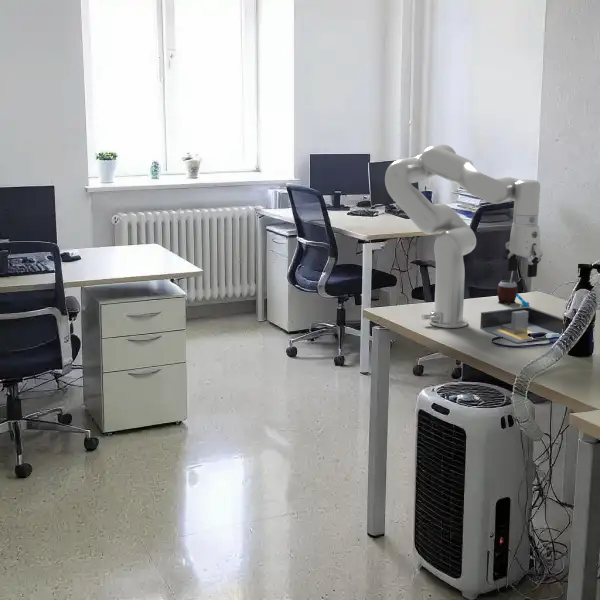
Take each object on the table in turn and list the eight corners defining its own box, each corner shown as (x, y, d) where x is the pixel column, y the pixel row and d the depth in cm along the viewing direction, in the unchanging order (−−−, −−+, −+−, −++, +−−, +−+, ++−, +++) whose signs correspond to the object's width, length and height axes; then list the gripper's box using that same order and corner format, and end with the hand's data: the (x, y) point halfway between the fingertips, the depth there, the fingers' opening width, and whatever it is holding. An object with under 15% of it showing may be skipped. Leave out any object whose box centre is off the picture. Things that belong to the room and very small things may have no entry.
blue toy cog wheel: (539, 314, 309) (519, 293, 309) (526, 326, 310) (506, 305, 311) (537, 311, 320) (517, 290, 320) (524, 322, 321) (504, 302, 321)
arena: (516, 343, 281) (517, 326, 280) (480, 328, 298) (481, 312, 297) (565, 336, 289) (567, 319, 287) (527, 322, 306) (528, 306, 304)
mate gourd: (499, 305, 329) (501, 264, 325) (494, 300, 337) (496, 260, 333) (520, 305, 329) (522, 264, 326) (514, 299, 337) (516, 260, 333)
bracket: (527, 332, 291) (528, 311, 289) (514, 334, 289) (515, 313, 287) (513, 327, 297) (514, 306, 296) (501, 329, 295) (502, 308, 293)
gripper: (553, 223, 276) (549, 278, 280) (518, 215, 291) (514, 267, 295) (533, 224, 273) (529, 280, 277) (498, 216, 288) (495, 269, 292)
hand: (522, 273), depth 286 cm, fingers open, 9 cm apart
